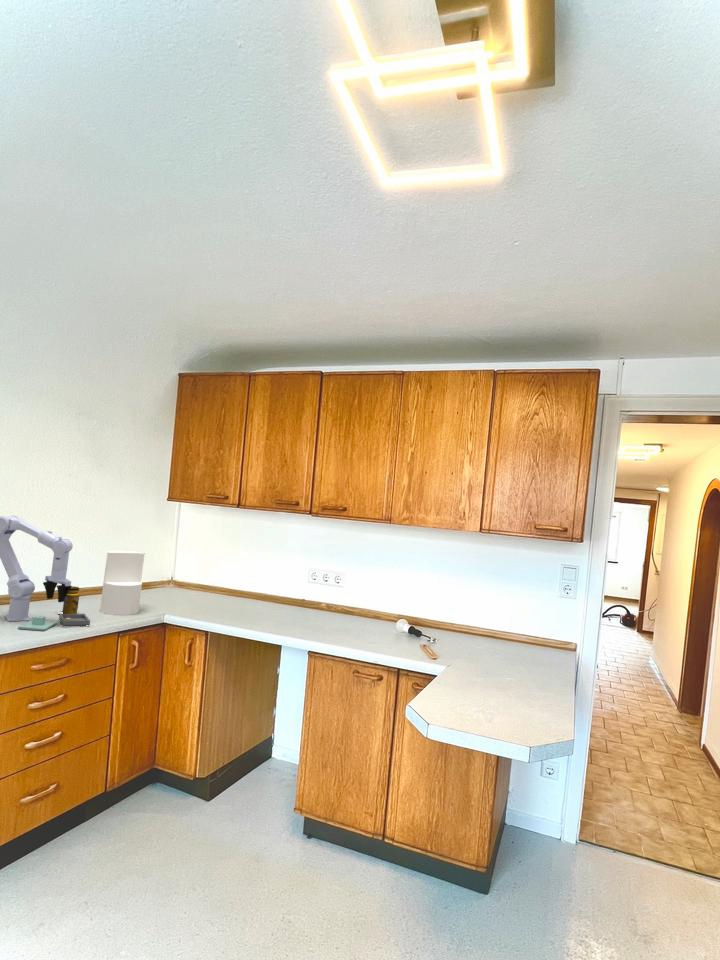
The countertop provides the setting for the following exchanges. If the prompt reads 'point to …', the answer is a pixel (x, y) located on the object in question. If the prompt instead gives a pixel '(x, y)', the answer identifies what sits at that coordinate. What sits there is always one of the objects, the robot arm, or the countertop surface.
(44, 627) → the lid
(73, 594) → the condiment
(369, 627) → the countertop surface
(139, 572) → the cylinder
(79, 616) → the grey tray
